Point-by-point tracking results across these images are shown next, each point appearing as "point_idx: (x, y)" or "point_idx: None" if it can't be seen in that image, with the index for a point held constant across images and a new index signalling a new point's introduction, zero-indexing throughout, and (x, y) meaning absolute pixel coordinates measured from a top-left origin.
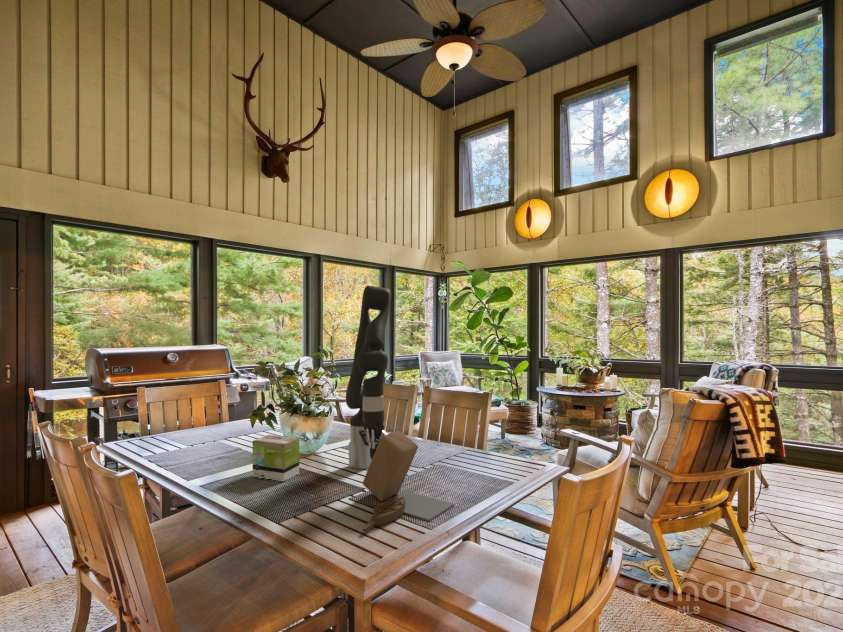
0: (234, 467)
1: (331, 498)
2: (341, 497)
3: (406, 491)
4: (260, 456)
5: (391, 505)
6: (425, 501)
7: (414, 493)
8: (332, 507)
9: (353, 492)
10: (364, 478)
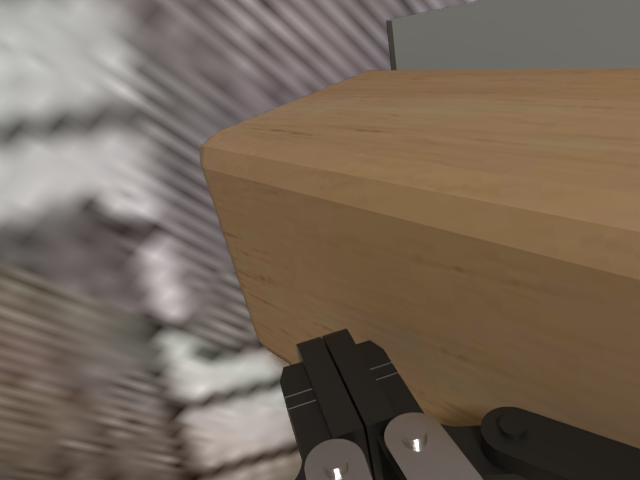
0: None
1: (128, 431)
2: (153, 385)
3: (405, 22)
4: None
5: None
6: (601, 53)
7: (473, 4)
8: (251, 456)
9: (121, 299)
10: (292, 364)
